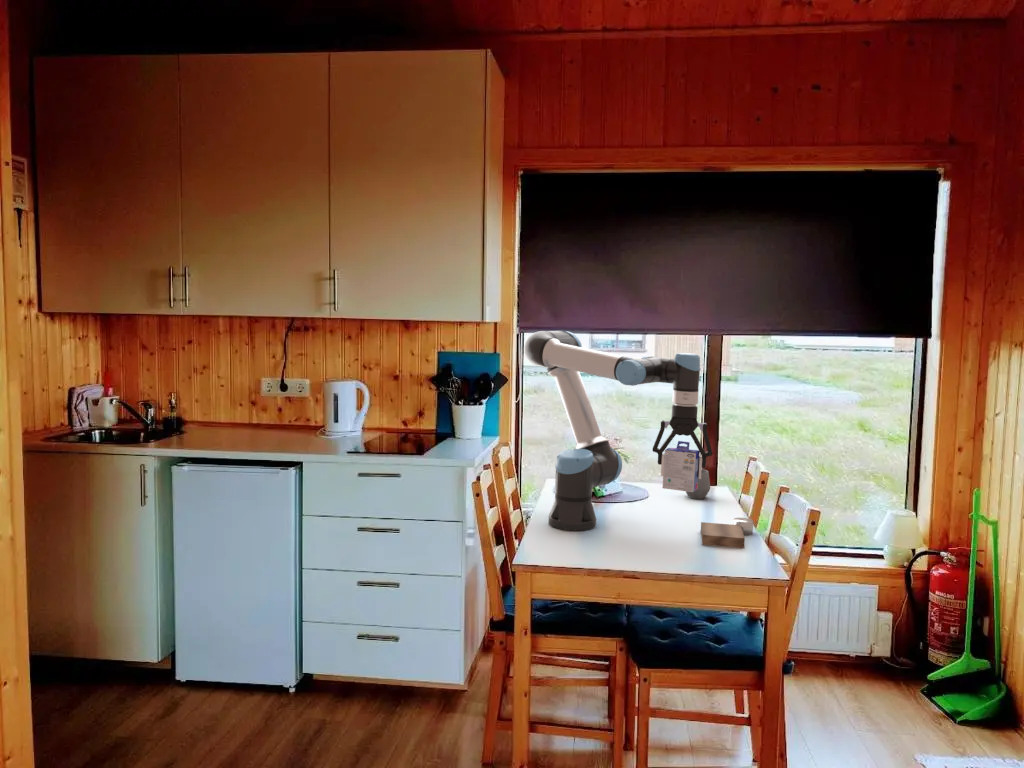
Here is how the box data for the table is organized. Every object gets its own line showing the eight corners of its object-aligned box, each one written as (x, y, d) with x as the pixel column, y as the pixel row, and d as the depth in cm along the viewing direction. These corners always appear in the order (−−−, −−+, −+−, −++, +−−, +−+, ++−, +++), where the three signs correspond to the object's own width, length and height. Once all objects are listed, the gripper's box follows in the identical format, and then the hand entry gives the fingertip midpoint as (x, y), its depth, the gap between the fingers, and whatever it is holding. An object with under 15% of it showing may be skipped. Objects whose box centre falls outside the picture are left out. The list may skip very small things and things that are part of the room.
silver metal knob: (733, 534, 250) (734, 522, 249) (732, 529, 255) (732, 516, 255) (753, 536, 248) (754, 523, 248) (751, 530, 254) (752, 518, 254)
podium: (702, 544, 238) (702, 534, 238) (700, 531, 252) (701, 522, 251) (744, 548, 236) (744, 538, 235) (740, 534, 249) (740, 525, 249)
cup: (678, 494, 298) (680, 468, 297) (700, 493, 301) (702, 467, 300) (691, 501, 290) (693, 474, 288) (714, 499, 292) (716, 473, 291)
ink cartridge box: (698, 489, 245) (701, 442, 243) (694, 493, 240) (697, 445, 238) (666, 485, 249) (669, 439, 247) (662, 488, 244) (664, 442, 242)
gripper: (645, 403, 240) (642, 476, 243) (725, 408, 236) (720, 482, 238) (646, 400, 247) (643, 471, 250) (723, 405, 243) (718, 476, 246)
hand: (680, 476), depth 244 cm, fingers closed on ink cartridge box, 10 cm apart
